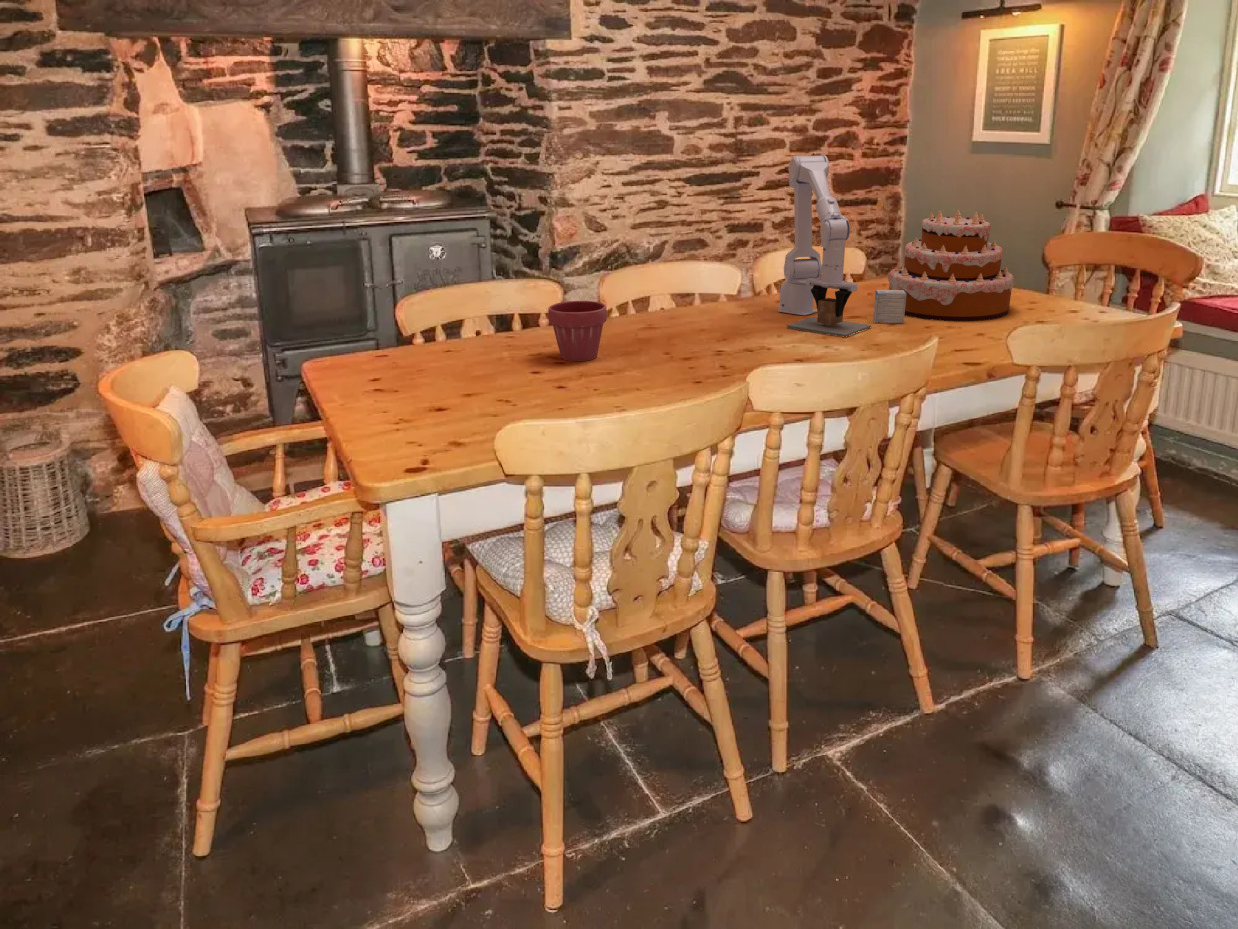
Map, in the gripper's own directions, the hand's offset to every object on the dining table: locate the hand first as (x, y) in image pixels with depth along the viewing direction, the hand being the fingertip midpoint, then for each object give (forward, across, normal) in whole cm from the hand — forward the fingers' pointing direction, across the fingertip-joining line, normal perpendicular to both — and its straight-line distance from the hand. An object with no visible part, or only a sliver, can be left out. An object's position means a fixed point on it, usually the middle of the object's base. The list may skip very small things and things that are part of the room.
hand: (829, 314), depth 274 cm
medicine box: (+4, +9, +17) cm, 20 cm away
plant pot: (+4, -33, -65) cm, 73 cm away
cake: (+4, +14, +43) cm, 46 cm away
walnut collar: (+2, 0, 0) cm, 2 cm away
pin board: (+4, 0, 0) cm, 4 cm away
